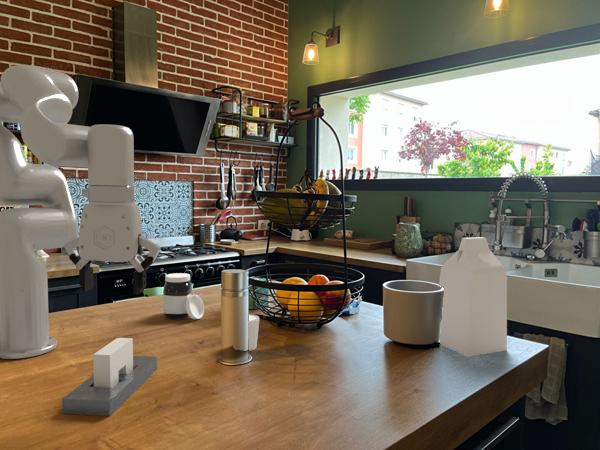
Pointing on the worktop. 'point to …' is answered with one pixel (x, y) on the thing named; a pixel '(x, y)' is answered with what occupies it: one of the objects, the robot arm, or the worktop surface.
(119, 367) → the clip
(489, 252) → the milk
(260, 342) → the worktop surface
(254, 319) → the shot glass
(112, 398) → the grey slotted base
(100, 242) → the robot arm
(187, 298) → the spread jar
